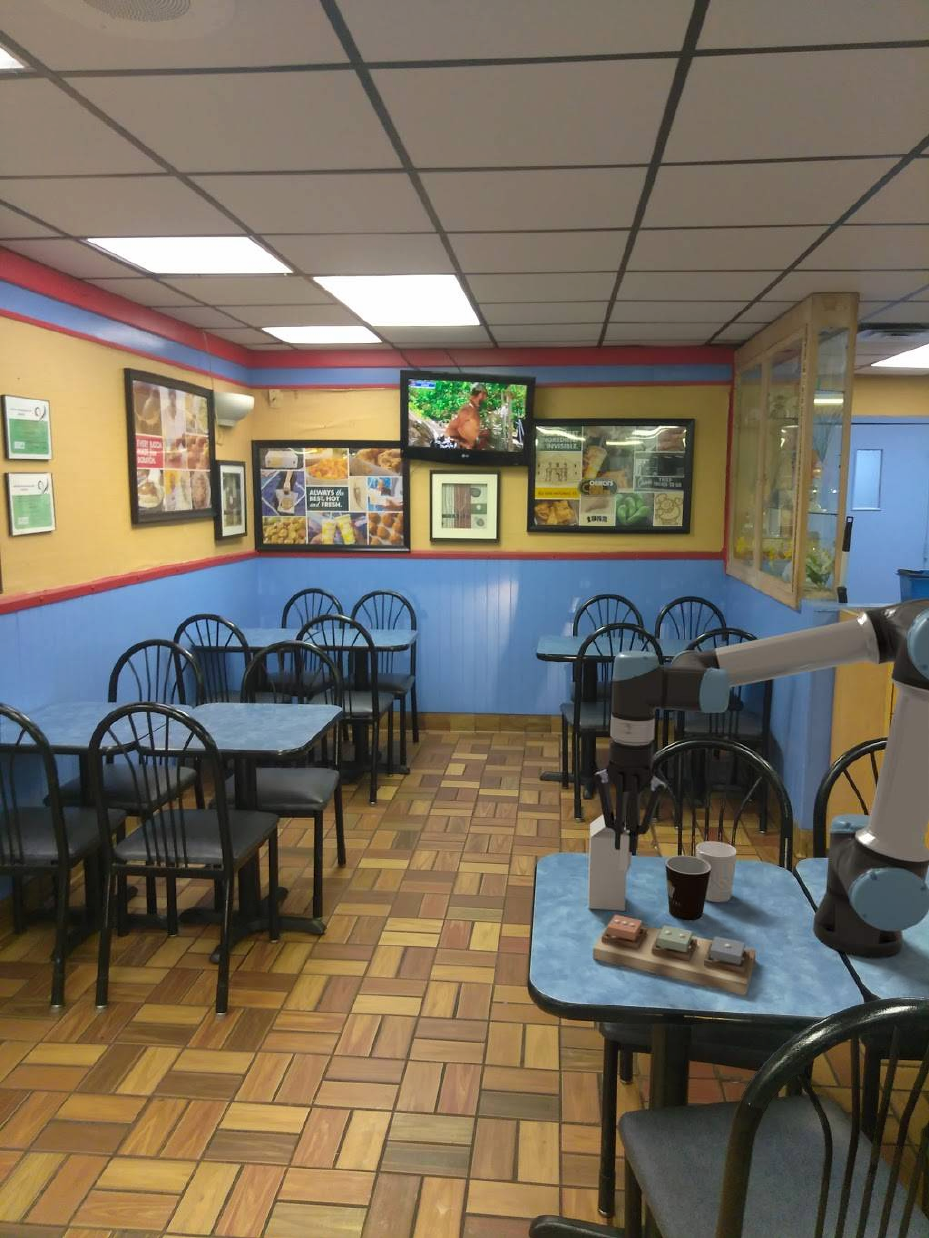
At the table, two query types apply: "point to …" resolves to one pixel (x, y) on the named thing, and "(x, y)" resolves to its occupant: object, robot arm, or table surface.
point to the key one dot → (727, 950)
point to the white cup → (718, 869)
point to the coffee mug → (687, 886)
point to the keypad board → (676, 960)
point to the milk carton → (605, 869)
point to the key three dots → (624, 927)
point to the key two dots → (674, 938)
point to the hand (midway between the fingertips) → (625, 867)
